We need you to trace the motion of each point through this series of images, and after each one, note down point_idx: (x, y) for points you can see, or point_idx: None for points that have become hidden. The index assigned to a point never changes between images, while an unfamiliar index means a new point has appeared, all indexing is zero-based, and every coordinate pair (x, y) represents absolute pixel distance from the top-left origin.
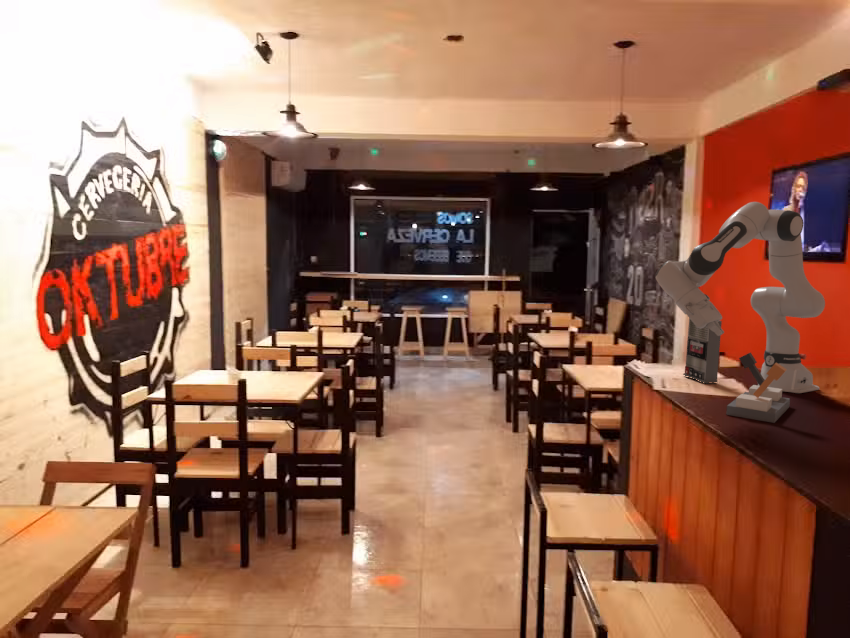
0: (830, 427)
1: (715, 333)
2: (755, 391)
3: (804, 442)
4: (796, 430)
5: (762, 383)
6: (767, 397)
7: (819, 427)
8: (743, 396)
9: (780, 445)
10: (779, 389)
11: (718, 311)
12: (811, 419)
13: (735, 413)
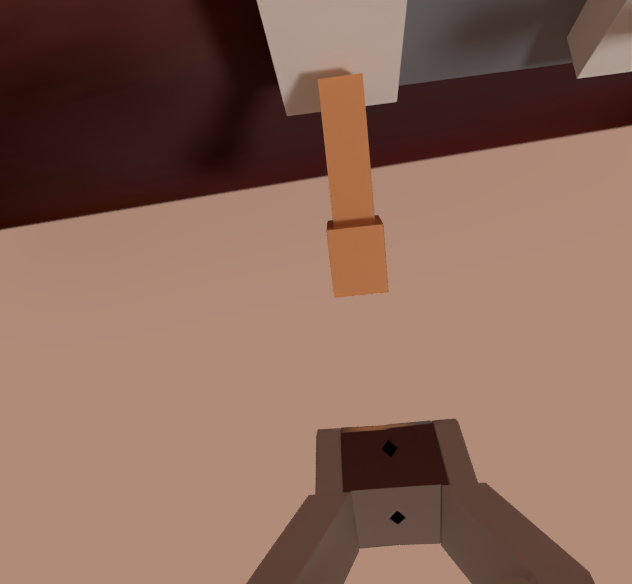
0: (369, 154)
1: (316, 470)
2: (321, 104)
3: (128, 163)
4: (242, 125)
5: (327, 168)
6: (592, 6)
7: None
8: (327, 14)
9: (17, 147)
10: None
11: None
12: (444, 110)
13: None
